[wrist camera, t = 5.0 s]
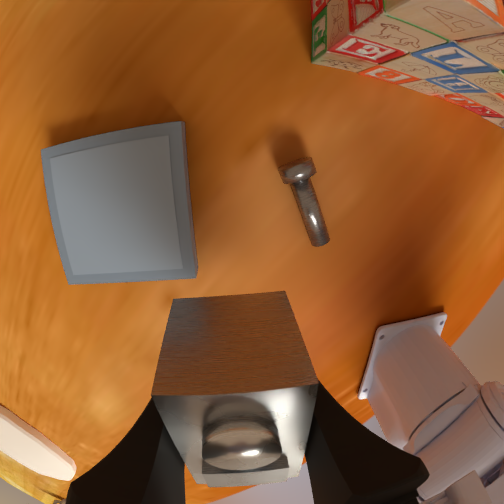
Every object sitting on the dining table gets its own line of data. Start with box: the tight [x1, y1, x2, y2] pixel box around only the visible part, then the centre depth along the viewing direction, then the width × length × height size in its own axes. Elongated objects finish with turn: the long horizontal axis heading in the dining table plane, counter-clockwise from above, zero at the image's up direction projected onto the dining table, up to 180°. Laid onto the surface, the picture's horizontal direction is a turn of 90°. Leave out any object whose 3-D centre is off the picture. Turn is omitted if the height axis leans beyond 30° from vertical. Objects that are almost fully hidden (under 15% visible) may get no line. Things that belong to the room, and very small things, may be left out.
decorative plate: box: [0, 405, 77, 481], centre depth 27 cm, size 25×4×25 cm
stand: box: [41, 121, 198, 284], centre depth 16 cm, size 9×9×2 cm
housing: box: [151, 291, 319, 487], centre depth 10 cm, size 7×4×6 cm, turn 2°
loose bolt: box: [278, 157, 330, 247], centre depth 16 cm, size 5×2×2 cm, turn 22°
